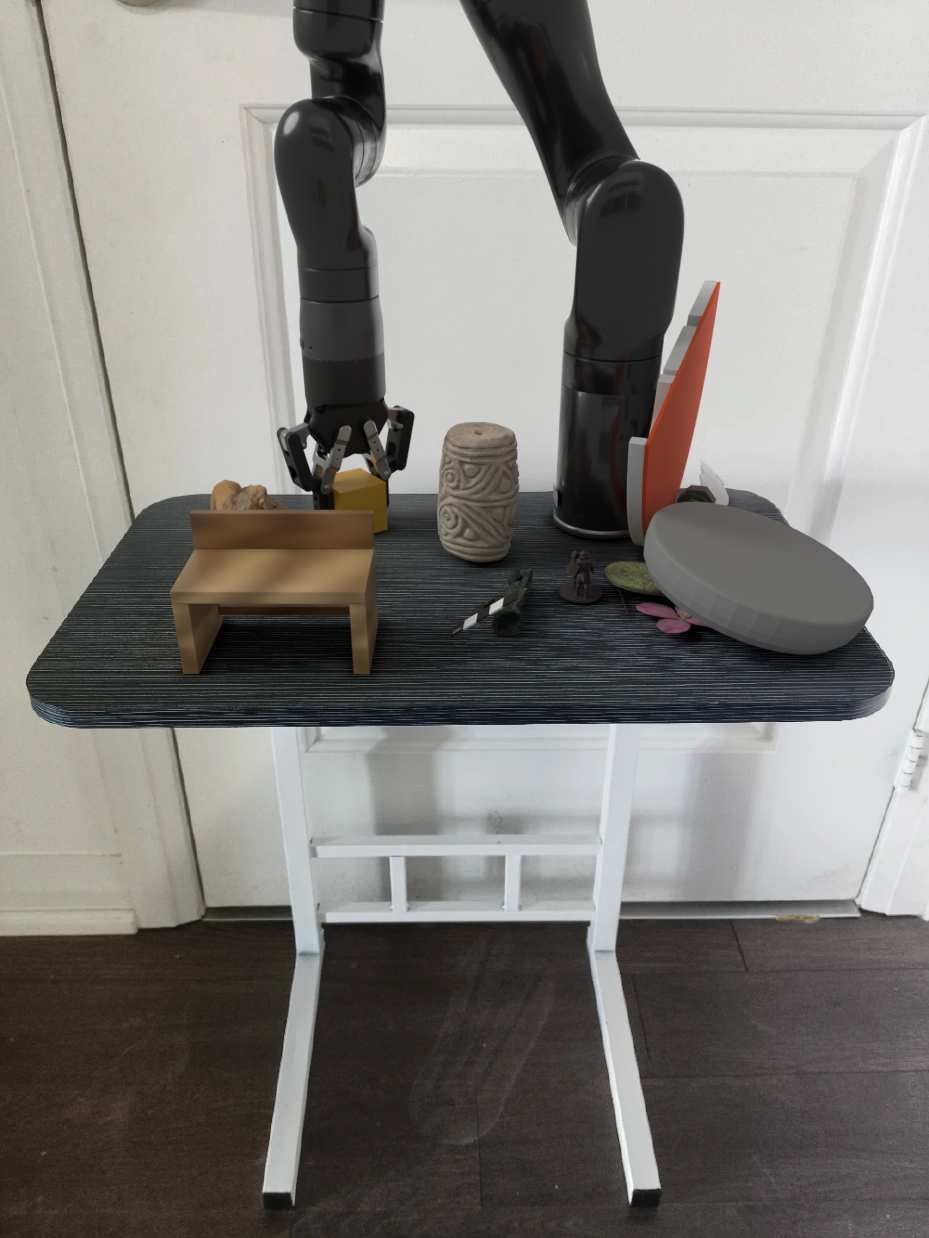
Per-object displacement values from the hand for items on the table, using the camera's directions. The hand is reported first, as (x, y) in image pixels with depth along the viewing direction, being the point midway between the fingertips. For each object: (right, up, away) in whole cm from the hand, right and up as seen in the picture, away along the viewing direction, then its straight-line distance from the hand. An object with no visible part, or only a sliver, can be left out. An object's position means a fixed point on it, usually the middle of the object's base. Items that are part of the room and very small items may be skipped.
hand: (353, 518), depth 96 cm
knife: (+37, 0, +1) cm, 38 cm away
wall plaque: (+36, +17, +5) cm, 40 cm away
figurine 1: (+13, -10, -16) cm, 23 cm away
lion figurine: (-9, -5, -6) cm, 12 cm away
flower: (+29, -10, -17) cm, 35 cm away
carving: (+12, -4, -5) cm, 14 cm away
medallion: (+27, -7, -12) cm, 30 cm away
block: (0, -1, 0) cm, 1 cm away
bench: (-3, -12, -20) cm, 24 cm away
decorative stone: (+35, -5, -19) cm, 40 cm away
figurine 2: (+22, -8, -12) cm, 26 cm away
